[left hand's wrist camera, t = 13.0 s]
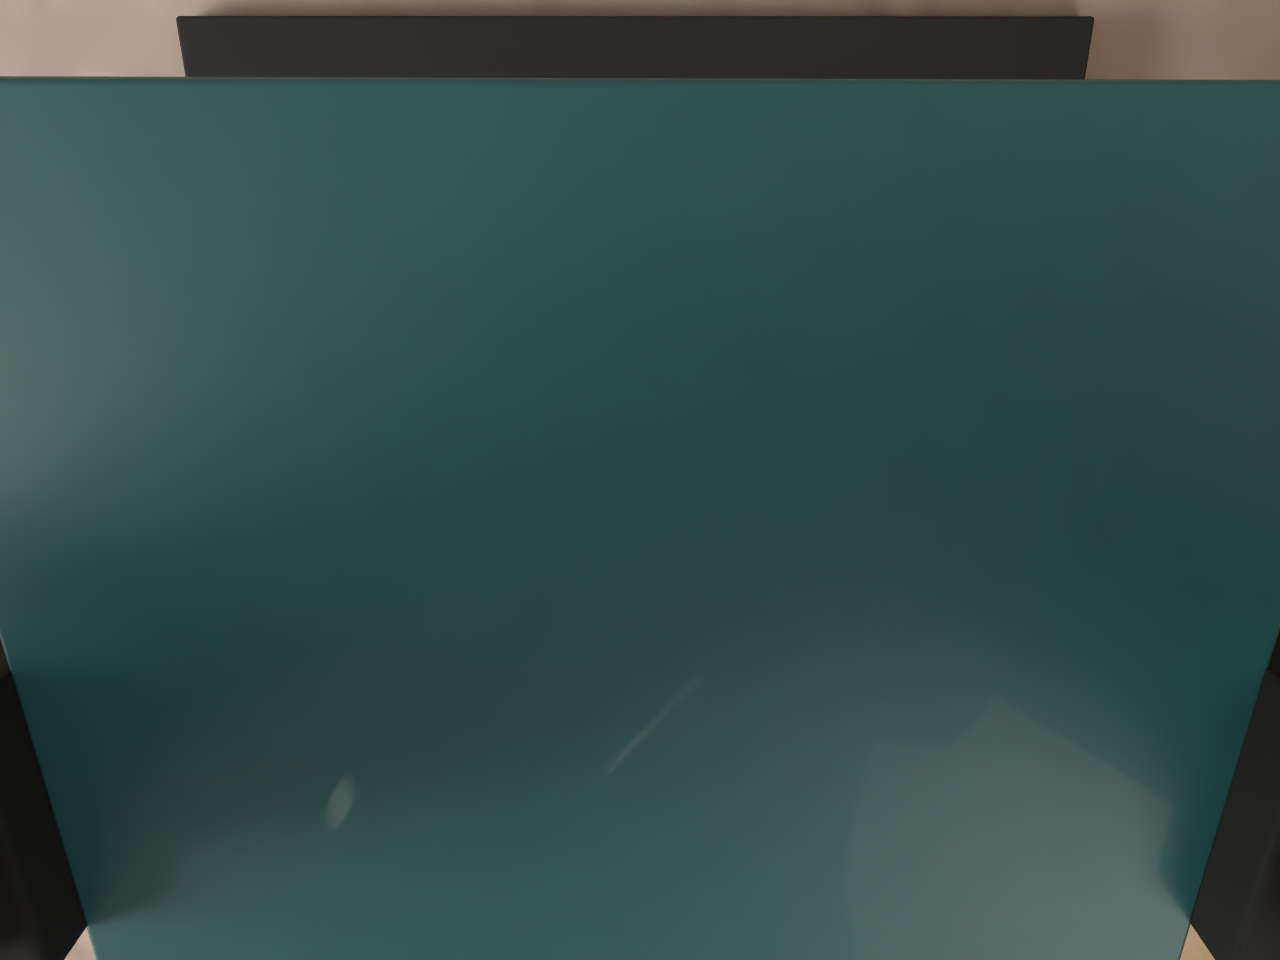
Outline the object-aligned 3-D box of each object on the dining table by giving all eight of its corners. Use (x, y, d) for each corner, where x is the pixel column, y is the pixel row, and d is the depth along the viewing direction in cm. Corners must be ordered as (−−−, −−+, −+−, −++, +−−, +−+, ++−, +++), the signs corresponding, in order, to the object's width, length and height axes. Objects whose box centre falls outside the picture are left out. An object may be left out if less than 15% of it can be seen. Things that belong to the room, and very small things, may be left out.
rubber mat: (966, 754, 19) (973, 767, 19) (306, 755, 19) (300, 768, 19) (1083, 18, 14) (1095, 16, 14) (186, 18, 14) (173, 15, 14)
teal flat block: (955, 853, 14) (1107, 1205, 10) (320, 854, 14) (167, 1209, 10) (1082, 97, 10) (1451, 80, 6) (194, 93, 10) (-172, 75, 6)
